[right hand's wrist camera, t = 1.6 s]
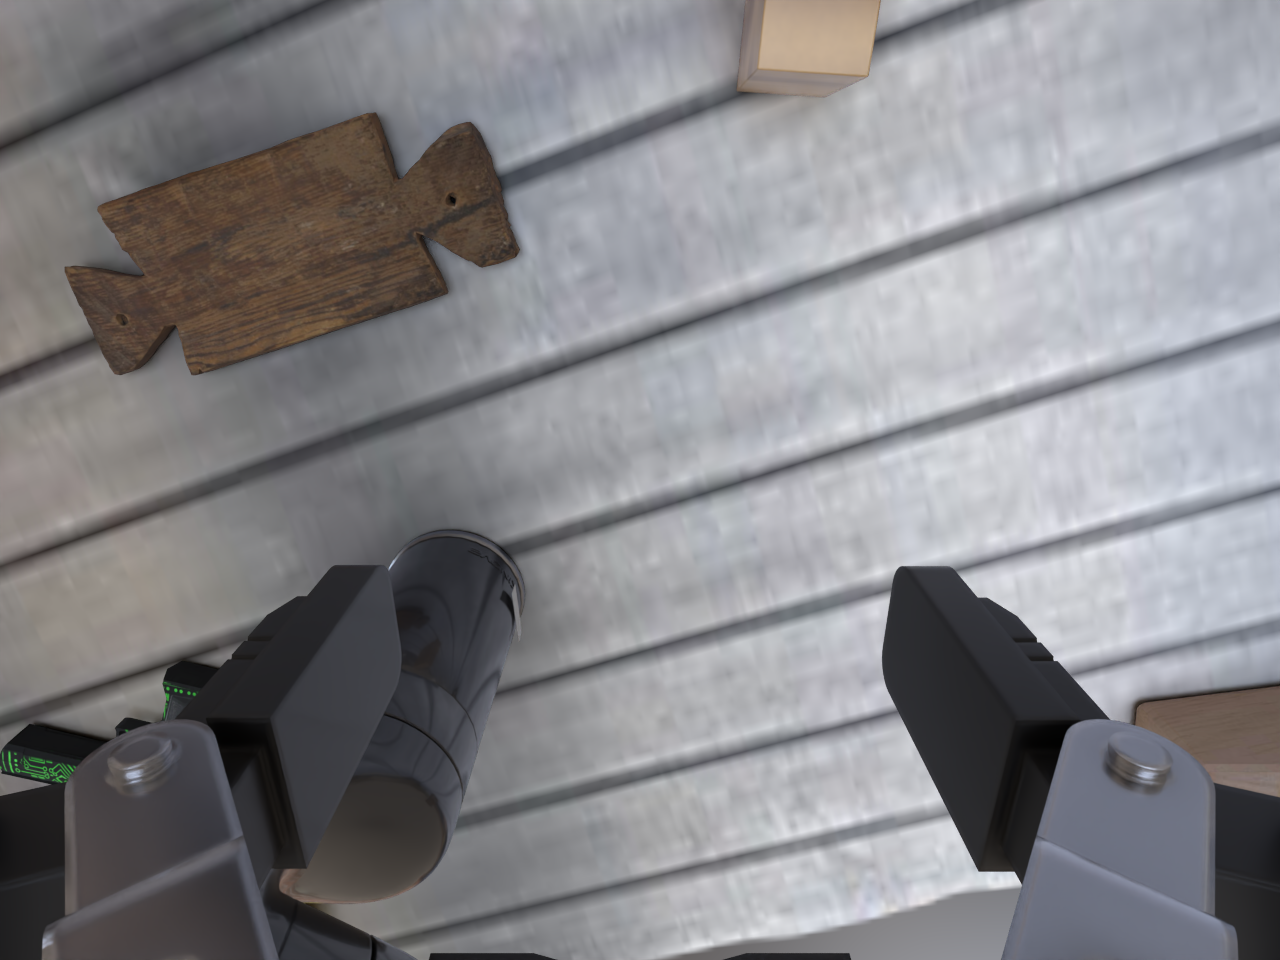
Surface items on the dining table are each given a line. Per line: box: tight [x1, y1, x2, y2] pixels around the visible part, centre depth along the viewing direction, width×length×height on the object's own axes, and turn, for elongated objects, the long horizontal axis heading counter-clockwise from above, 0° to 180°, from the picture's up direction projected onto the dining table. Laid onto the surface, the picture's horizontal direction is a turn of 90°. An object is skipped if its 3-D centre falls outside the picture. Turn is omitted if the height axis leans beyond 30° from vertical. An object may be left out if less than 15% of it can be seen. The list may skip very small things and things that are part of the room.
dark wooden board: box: [65, 113, 520, 375], centre depth 39 cm, size 26×2×10 cm
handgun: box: [0, 661, 219, 785], centre depth 53 cm, size 16×3×15 cm
